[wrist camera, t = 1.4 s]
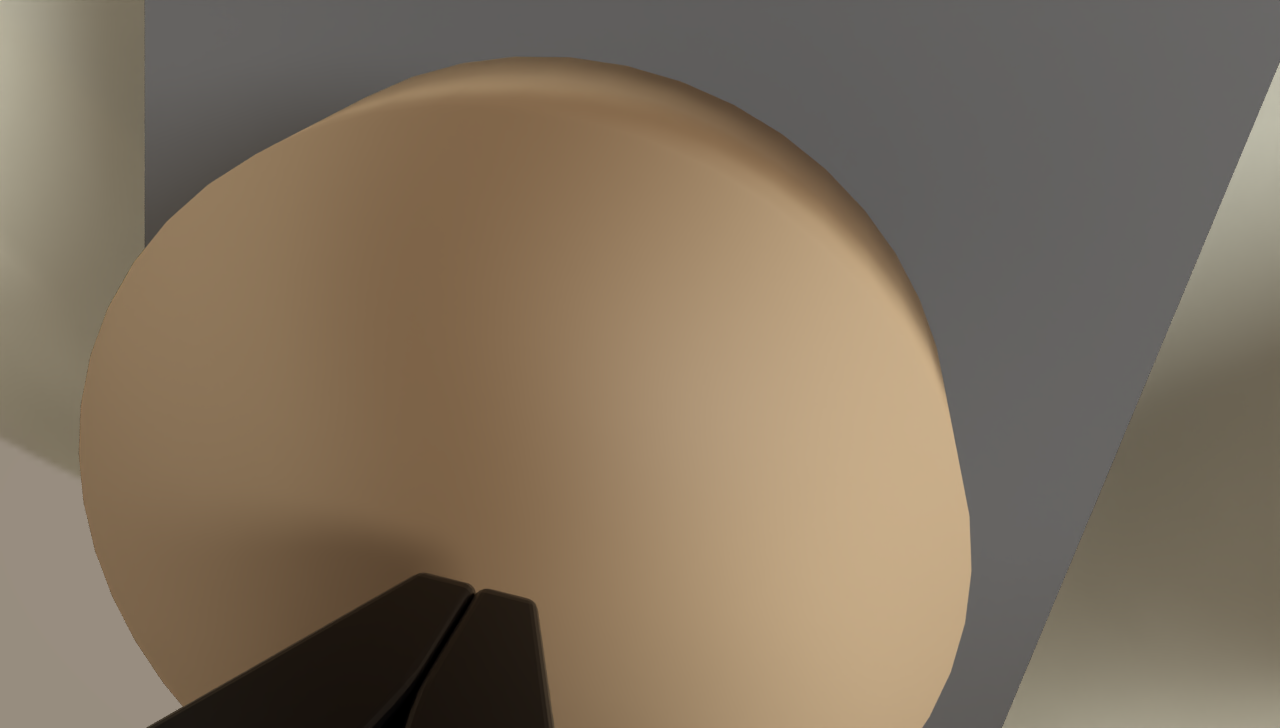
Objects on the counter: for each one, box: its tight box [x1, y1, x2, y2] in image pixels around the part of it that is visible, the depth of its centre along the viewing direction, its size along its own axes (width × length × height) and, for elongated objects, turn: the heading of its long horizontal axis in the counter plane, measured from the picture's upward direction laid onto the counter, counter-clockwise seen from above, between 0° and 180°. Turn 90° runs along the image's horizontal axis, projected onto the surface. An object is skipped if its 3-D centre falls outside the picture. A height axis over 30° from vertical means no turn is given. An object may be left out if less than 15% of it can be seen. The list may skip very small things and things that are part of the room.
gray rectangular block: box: [145, 0, 1280, 728], centre depth 17 cm, size 12×14×6 cm
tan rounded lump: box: [79, 57, 971, 728], centre depth 12 cm, size 7×7×6 cm
